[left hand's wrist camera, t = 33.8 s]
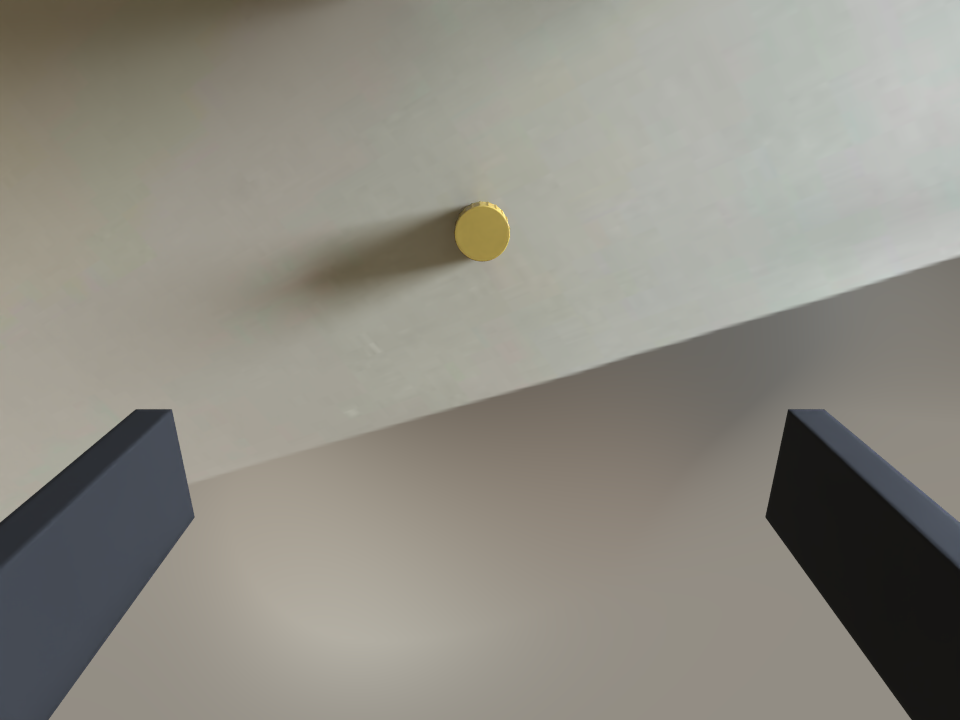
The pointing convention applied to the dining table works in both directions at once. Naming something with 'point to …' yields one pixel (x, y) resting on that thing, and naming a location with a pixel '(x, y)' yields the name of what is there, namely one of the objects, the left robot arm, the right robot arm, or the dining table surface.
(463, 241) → the cap
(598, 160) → the dining table surface
